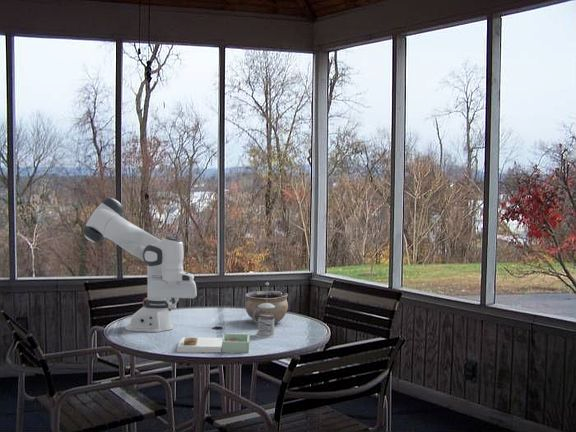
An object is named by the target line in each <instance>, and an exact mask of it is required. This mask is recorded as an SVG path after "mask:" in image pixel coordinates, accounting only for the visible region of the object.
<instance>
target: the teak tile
mask: <svg viewBox="0 0 576 432" xmlns="http://www.w3.org/2000/svg"><path fill="white" fill-rule="evenodd" d="M196 344H197V338H185V340H184V345H196Z"/></svg>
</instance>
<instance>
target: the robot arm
mask: <svg viewBox="0 0 576 432" xmlns="http://www.w3.org/2000/svg"><path fill="white" fill-rule="evenodd" d="M123 213H124V207H123V206H122V204H121V202H120V201H118V200H117V199H116V198H113V197H105V198H104V199H103V200H102V201H101V203H100V204H99V205H98V206H97V208H95V210H94V211H93V212H92V214H91V215H90V217H89V218H88V220H87V222H86V223H85V225H84V226H83V228H82V235H84V237H85V238H86V240H88V241H89V242H91V243H95V244H99V243H101V242H102V241H104V240H105V239H106V238H107V239H108V240H109V241H112V242H114V243H115V244H116V245H117V246H118V247H120V248H121V249H123V250H124V251H126V252H128V253H129V254H131V255H132V256H134V257H136V258H137V259H139V260H141V261H143V262H144V264H146V265H147V271H146V272H147V273H146V274H147V276H146V277H147V278H146V279H147V290H146V291H147V297H145V298H143V300H142V307H141V308H140V309H138V310H137V311H136V312H135V313H133V314H132V316H131V318H130V323H128V324H126V326H125V330H126V331H131V332H132V331H133V332H145V333H159V332H163V331H169V330H173V329H174V323H173V319H172V318H173V317H172V310H173V309H175V310H176V309H177V304H178V303H179V300H180V299H195V298H197V294H198V293H197V290H198V289H197V284H196V282H195V280H194V279H195V275H194V274H193V273H189V272H187V271H184V264H183V262H184V255H185V253H184V243H183V241H182V239H181V238H178V237H175V236H165V237H164V238H163V239H162V238H160V237H158V236H157V235H155V234H152V233H151V232H149V231H147V230H145V229H143V228H141V227H139V226H137V225H136V224H134V223H132V222H130V221H128V220H127V219H126V218H124V215H123ZM172 299H174V303H172V302H173V301H172Z"/></svg>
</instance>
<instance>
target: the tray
mask: <svg viewBox="0 0 576 432" xmlns="http://www.w3.org/2000/svg"><path fill="white" fill-rule="evenodd" d="M223 336H224V337H223V341H222V350H221V353H222V352H234V353H235V354H236V353H237V354H239V353H240V354H249V353H250V352H249V351H250V338H251V337H250V336H251V335H250V333H224V335H223ZM227 339H239V342H228V341H227ZM234 353H233V354H234Z"/></svg>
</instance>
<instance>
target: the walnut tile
mask: <svg viewBox="0 0 576 432" xmlns="http://www.w3.org/2000/svg"><path fill="white" fill-rule="evenodd" d="M227 341H228V342H239V339H227Z"/></svg>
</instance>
